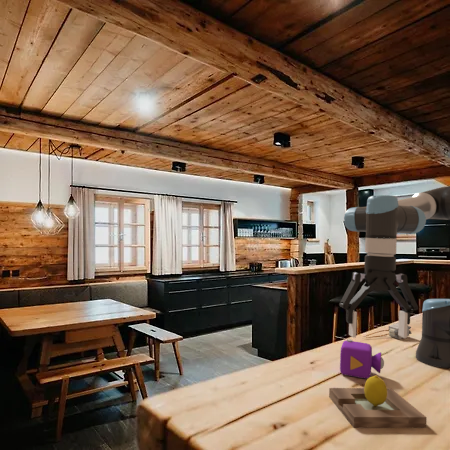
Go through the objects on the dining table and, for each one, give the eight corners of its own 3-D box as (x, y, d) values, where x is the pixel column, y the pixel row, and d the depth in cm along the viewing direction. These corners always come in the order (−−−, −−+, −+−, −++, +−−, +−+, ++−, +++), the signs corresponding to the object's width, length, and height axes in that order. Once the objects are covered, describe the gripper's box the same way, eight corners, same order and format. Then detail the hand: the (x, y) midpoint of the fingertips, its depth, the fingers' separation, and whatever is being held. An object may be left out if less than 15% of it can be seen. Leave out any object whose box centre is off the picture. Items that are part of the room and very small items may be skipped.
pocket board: (390, 397, 105) (391, 388, 105) (426, 427, 89) (426, 417, 89) (329, 396, 103) (329, 387, 103) (353, 427, 87) (354, 417, 88)
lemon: (376, 413, 93) (377, 381, 93) (359, 403, 97) (360, 373, 98) (391, 409, 95) (392, 378, 95) (373, 400, 100) (375, 370, 100)
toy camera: (386, 383, 115) (387, 350, 115) (340, 377, 118) (342, 346, 118) (379, 370, 126) (380, 341, 126) (337, 365, 128) (338, 336, 129)
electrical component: (371, 349, 159) (370, 338, 159) (361, 345, 165) (360, 334, 164) (411, 335, 168) (410, 324, 168) (401, 331, 174) (400, 321, 173)
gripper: (417, 255, 101) (414, 332, 101) (328, 252, 99) (325, 331, 99) (434, 257, 94) (432, 341, 94) (339, 254, 92) (336, 340, 92)
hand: (377, 336), depth 97 cm, fingers open, 13 cm apart
